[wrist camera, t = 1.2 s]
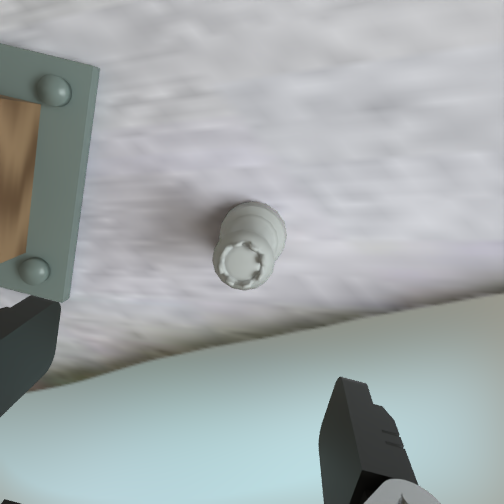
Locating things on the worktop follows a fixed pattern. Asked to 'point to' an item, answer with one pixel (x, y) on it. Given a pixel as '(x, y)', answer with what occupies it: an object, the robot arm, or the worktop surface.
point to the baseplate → (51, 166)
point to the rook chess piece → (249, 245)
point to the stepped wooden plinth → (16, 172)
